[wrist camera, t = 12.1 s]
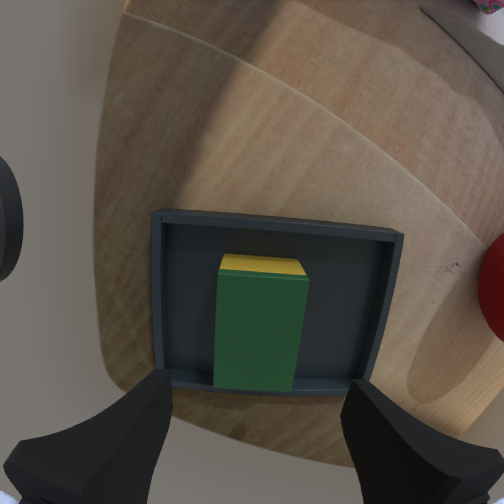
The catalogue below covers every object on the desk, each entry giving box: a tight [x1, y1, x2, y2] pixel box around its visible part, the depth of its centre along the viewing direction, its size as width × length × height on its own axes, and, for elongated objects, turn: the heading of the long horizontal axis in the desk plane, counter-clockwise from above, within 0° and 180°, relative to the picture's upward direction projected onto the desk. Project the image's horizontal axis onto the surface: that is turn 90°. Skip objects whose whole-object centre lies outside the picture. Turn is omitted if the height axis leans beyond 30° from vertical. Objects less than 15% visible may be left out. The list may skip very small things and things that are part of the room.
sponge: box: [213, 254, 309, 392], centre depth 18 cm, size 4×7×4 cm, turn 175°
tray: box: [151, 208, 404, 396], centre depth 19 cm, size 15×12×2 cm
